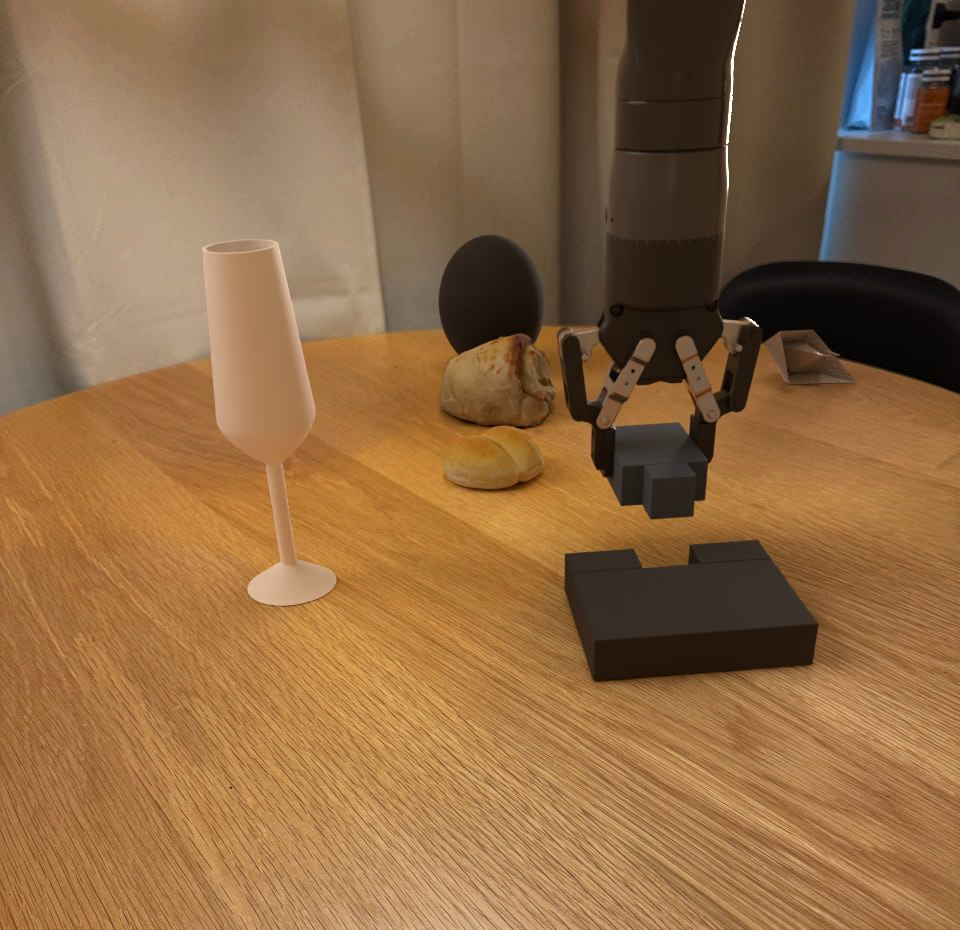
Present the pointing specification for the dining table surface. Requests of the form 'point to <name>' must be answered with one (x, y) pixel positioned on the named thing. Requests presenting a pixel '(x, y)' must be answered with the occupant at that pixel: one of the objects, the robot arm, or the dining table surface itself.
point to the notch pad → (687, 612)
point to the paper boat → (805, 358)
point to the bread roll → (493, 459)
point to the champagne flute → (262, 391)
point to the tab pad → (658, 469)
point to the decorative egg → (490, 293)
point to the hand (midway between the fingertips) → (651, 470)
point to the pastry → (499, 383)
